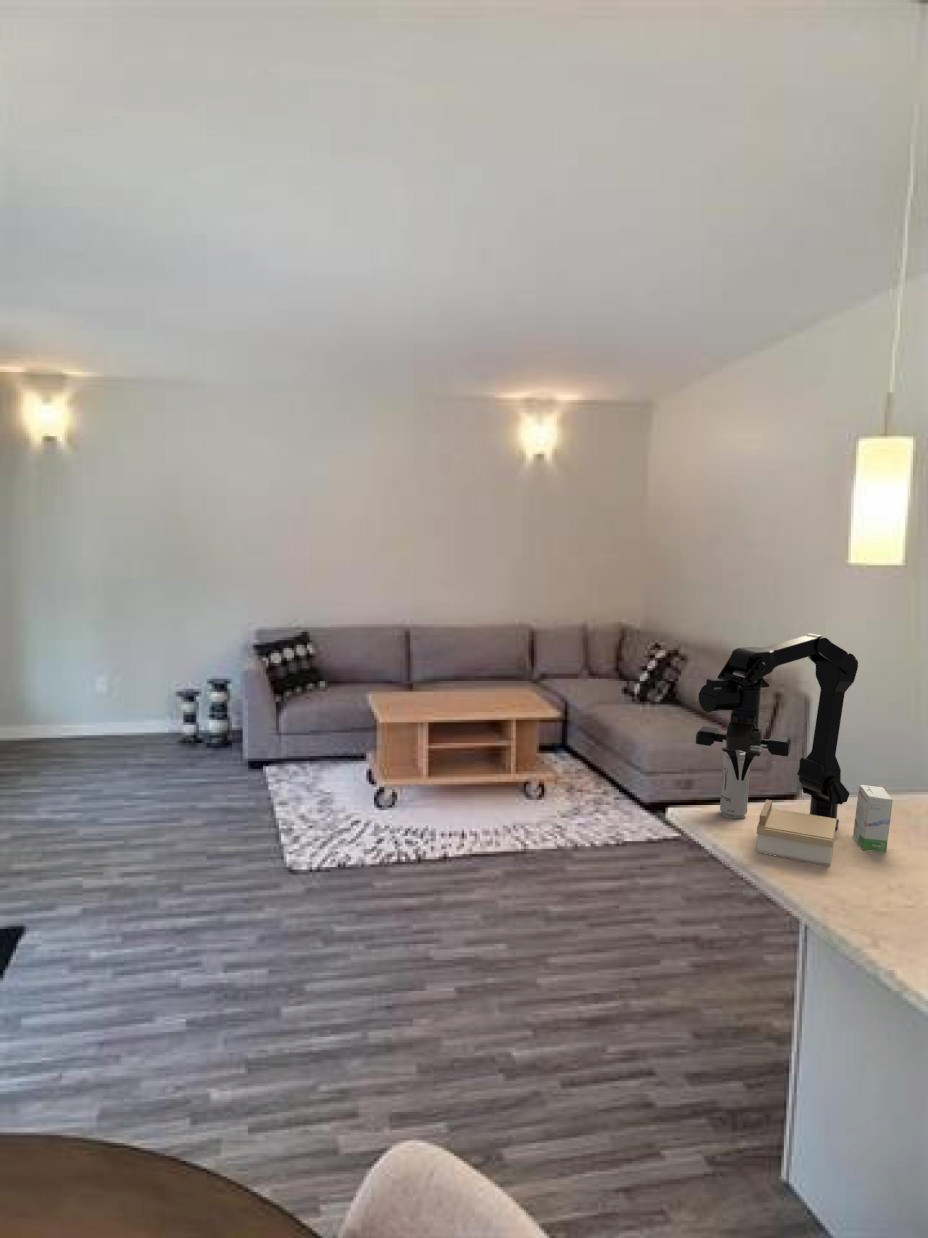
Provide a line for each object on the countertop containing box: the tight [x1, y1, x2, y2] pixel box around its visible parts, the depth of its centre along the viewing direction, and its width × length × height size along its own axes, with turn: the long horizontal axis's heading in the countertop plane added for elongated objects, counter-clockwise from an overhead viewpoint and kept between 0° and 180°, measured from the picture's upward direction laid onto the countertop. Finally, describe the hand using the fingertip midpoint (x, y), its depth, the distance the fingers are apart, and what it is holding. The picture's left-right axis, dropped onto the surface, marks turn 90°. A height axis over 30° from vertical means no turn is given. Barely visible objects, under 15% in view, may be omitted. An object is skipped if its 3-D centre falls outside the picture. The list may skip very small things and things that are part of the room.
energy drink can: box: [719, 751, 751, 819], centre depth 202 cm, size 6×6×15 cm
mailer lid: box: [756, 799, 838, 848], centre depth 182 cm, size 14×14×4 cm
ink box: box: [852, 784, 894, 853], centre depth 186 cm, size 9×5×12 cm, turn 168°
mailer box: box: [756, 834, 835, 867], centre depth 183 cm, size 12×14×5 cm
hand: (740, 780), depth 187 cm, fingers closed
